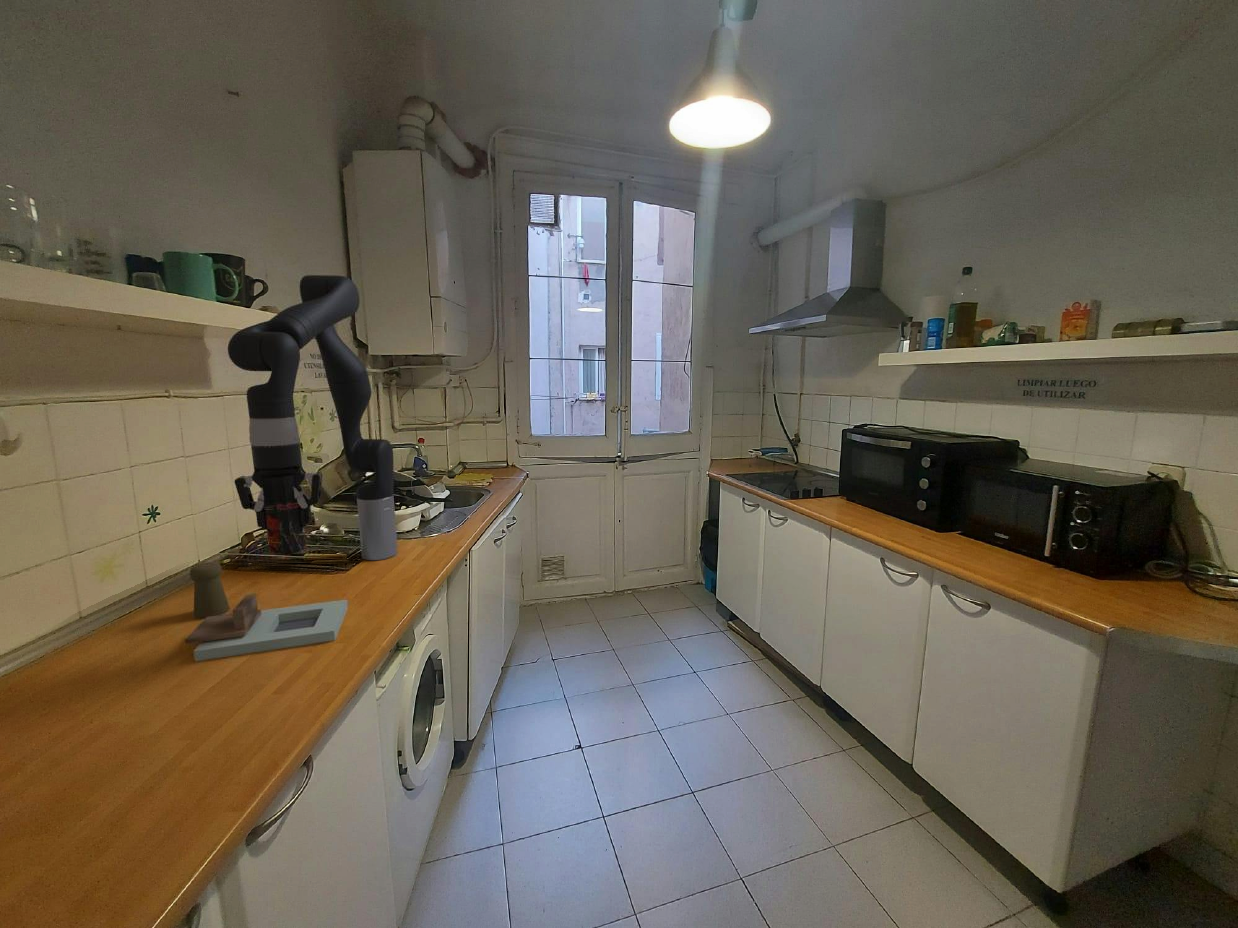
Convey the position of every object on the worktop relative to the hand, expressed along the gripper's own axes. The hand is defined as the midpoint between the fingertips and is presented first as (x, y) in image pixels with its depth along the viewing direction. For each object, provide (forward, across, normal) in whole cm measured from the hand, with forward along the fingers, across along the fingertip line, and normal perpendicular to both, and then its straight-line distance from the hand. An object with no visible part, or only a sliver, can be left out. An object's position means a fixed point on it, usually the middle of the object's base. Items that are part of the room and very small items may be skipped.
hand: (285, 526), depth 94 cm
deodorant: (+5, 0, 0) cm, 5 cm away
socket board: (+21, +3, 0) cm, 22 cm away
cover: (+19, +12, 0) cm, 22 cm away
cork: (+22, +19, -14) cm, 32 cm away
